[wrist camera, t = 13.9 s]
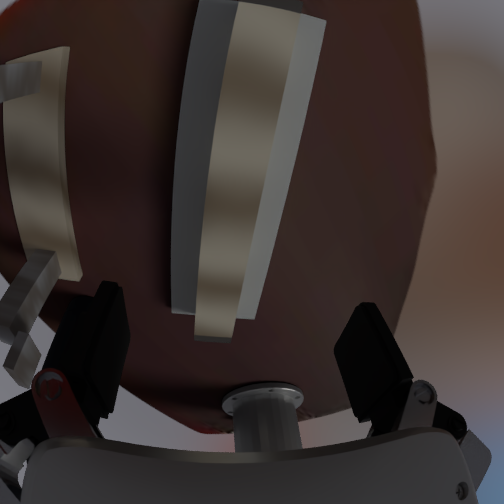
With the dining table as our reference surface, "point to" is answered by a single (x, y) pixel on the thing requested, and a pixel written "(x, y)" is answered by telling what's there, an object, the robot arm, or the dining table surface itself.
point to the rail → (241, 156)
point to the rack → (36, 197)
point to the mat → (200, 146)
